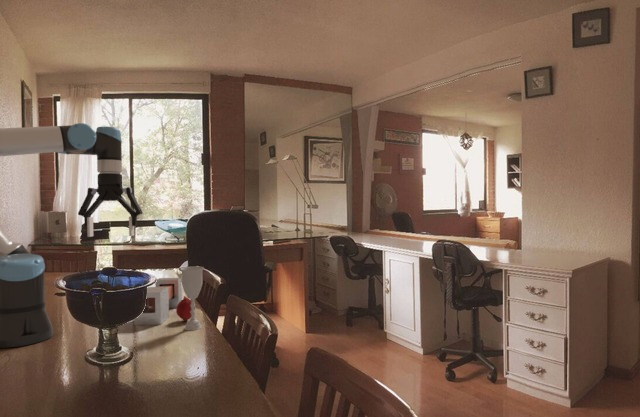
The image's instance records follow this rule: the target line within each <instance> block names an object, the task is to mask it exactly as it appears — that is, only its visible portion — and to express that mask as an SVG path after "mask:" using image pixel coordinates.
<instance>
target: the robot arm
mask: <svg viewBox="0 0 640 417" xmlns="http://www.w3.org/2000/svg"><path fill="white" fill-rule="evenodd" d="M95 129H96V130H95ZM95 129H94V128H93V127H92V126H91V125H89V124H87V123H84V122H83V123H82V122H80V123H74V124H70V125H52V126H51V125H50V126H45V125H44V126H29V127H24V126H23V127H5V128H4V127H3V128H0V157H9V156H11V157H12V156H21V155H23V156H25V155H34V154H35V155H36V154H37V155H38V154H47V153H50V154H51V153H57V154H63V155H64V154H65V155H69V156H70V155H82V156H83V155H85V156H86V155H87V156H88V155H89V156H96V160H97V161H96V164H97V167H96V168H97V173H98V174H97V188H94V187H89V188H87V194H86V196H85V198H84V201H83V203H82V204H81V207H80V209H79V210H78V213H77V214H78V216H82V217H83V218H84V227H85V228H87V229H86V230H87V231H86V232H87V235H86V236H87V238H91V237H94V216H92V215H93V213H95V211H96V210H97V209H98V208H99V207H100V206H101V204H102V203H103V202H110V201H111V202H118V203H119V204H120V205H121V206H122V207H123V209H125V211H127V212H128V213H129V215H130V216H128V231H129V232H128V234H129V235H128V236H129V237H133V236H135V227H137V225H138V216H140V215H142V214H143V210H142V208H141V206H140V205H139V203H138V201H137V198H136V197H135V195H134V194H133V191H134V190H133V188H132V187H130V186H129V187H125V188H124V187H123V175H122V174H121V173H122V172H123V163H122V161H123V160H122V150H123V149H122V143H123V142H122V141H123V140H122V132H121V130H120V129H119V128H118V127H114V126H97V127H96V128H95ZM123 193H124V194H125V195H126V196H127V198H128V200H129V202H130V204H131V205H130V204H129V203H128V201H126V200H125V198H124V197H123V196H122V195H123ZM96 194H97V195H98V196H97V197H96V198H95V201H94V202H93V203H92V204H91V202H92V201H93V198H94V197H95V195H96ZM45 269H46V264H45V259H44V258H43V257H42V255H40V254H34V253H30V251H29V250H27V248H26V247H25V246H24V245H23V244H22V243H21V242H15V241H12V239H11V238H10V237H9V236H8V235H7V233H6V232H4V230H3V229H2V227H0V349H7V348H18V347H23V346H24V347H25V346H29V345H33V344H37V343H41V342H44V341H45V340H48V339H50V338H52V337H53V336H54V327H53V325H52V322H51V320H50V317H49V314H48V312H47V310H46V290H45V289H46V288H45V285H46V284H45V281H46V280H45Z"/></svg>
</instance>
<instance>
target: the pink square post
mask: <svg viewBox="0 0 640 417" xmlns="http://www.w3.org/2000/svg"><path fill="white" fill-rule="evenodd" d="M160 287H168V293H169V299H171V298H172V297H173V296H174V284H163V285H162V286H160ZM148 306H155V298H148Z"/></svg>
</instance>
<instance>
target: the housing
mask: <svg viewBox="0 0 640 417" xmlns="http://www.w3.org/2000/svg"><path fill="white" fill-rule="evenodd" d="M147 287H148V288H147V299H146V306H145V309H144V311H143V313H142V314H141V315H140V316H139V317H138V318H136V319H135V320H134V319H133V320H134V326H151V325H152V326H153V325H154V326H155V325H162V324H163V323H164V322H165V321H166V320H167V319H168V318H170V313H169V312H170V308H169V293H168V287H156V286H147ZM148 298H155V306H148Z"/></svg>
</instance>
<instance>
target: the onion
mask: <svg viewBox="0 0 640 417" xmlns="http://www.w3.org/2000/svg"><path fill="white" fill-rule="evenodd" d="M190 305H191V299H189V298H188V297H187V295H184V296H183V298H182V300H181V301H180V302H179V304H178V305H177V308H175V312H176V315H177V316H178V317H179V318H180V319H181V320H183V321H184V322H187V321H188V320H190V319H191V316H192V315H191V313H190V311H191V306H190ZM194 309H195V310H196V307H195V308H194Z"/></svg>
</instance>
